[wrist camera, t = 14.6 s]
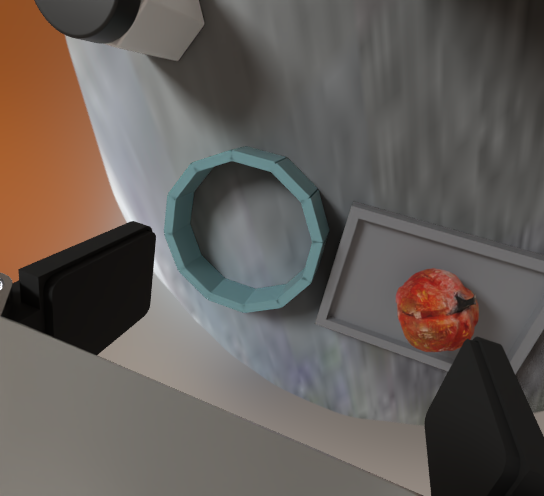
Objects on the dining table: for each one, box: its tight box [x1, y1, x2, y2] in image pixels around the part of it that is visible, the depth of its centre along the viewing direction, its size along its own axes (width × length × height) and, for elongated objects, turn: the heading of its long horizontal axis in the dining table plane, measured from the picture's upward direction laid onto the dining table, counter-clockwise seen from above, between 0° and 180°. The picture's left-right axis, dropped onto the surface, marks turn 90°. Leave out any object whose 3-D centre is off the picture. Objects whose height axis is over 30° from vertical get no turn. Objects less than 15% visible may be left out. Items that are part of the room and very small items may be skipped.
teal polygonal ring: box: [164, 146, 329, 313], centre depth 40 cm, size 17×17×4 cm
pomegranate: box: [396, 268, 479, 352], centre depth 34 cm, size 7×7×10 cm
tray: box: [315, 201, 544, 375], centre depth 37 cm, size 14×20×2 cm
